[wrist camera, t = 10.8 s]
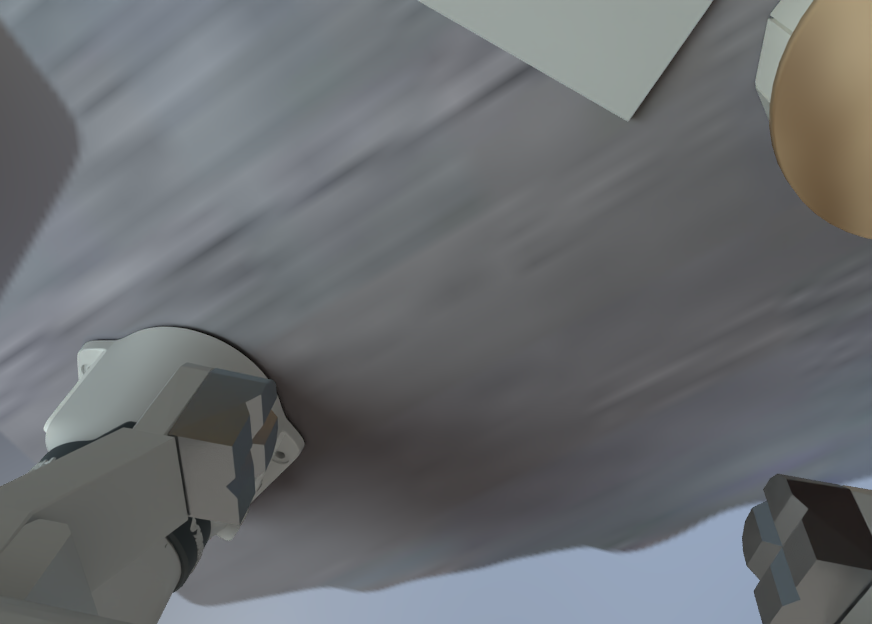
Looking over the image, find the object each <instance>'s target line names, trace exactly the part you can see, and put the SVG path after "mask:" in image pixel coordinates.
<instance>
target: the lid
mask: <svg viewBox="0 0 872 624" xmlns="http://www.w3.org/2000/svg"><path fill="white" fill-rule="evenodd" d="M769 127H770V134H771V141H772V146H773V150H774V153H775V156H776V159H777V162H778V164H779V166H780V168H781V170H782V172H783V174H784V176H785V178H786V180H787V181H788V182H789V184H790V185H791V187H792V188H793V189H794V191H795V192H796V193H797V195H798V196H799V197H800V199H801V200H802V201H803V202H804V203H805V204H806V205H807V206H808V207H809V208H810V209H811V210H812V211H813V212H814V213H815V214H817V215H818V216H820V217H821V218H823V219H824V220H825V221H827V222H828V223H830V224H832V225H834V226H836V227H838V228H840V229H842V230H844V231H846V232H849V233H852V234H855V235H858V236H861V237H864V238H869V239H872V0H813V2H812V3H811V5H810V6H809V7H808V9H807V10H806V12H805V13H804V14H803V16H802V17H801V19H800V21H799V23H798V24H797V26H796V28H795V30H794V31H793V33H792V35H791V37H790V38H789V40H788V43H787V45H786V48H785V50H784V52H783V55H782V57H781V59H780V62H779V65H778V68H777V72H776V75H775V79H774V82H773V86H772V93H771V99H770V110H769Z"/></svg>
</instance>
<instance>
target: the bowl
mask: <svg viewBox="0 0 872 624" xmlns="http://www.w3.org/2000/svg"><path fill="white" fill-rule="evenodd" d="M812 2H813V0H781V1H780V2H779V3H778V5H777V6H776V7H775V8H774V10H773V11H772V12H771V14H770V15H771V16H772V17H773V18H768V21H767V26H766V31H765V36H764V41H763V46H762V50H761V55H760V60H759V65H758V70H757V75H756V80H755V84H756V86H755V87H756V90H757V92H758V95H759V97H760V100H761V102H762V105H763V107H764V110H765V112H766V115H767V117H768V120H769V110H770V99H771V93H772V86H773V82H774V79H775V75H776V72H777V68H778V65H779V62H780V59H781V57H782V55H783V52H784V50H785V48H786V45H787V43H788V40H789V38H790V37H791V35H792V33H793V31H794V30H795V28H796V26H797V24H798V23H799V21H800V19H801V17H802V16H803V14H804V13H805V12H806V10H807V9H808V7H809V6H810V5H811V3H812Z"/></svg>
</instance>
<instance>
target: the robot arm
mask: <svg viewBox="0 0 872 624" xmlns="http://www.w3.org/2000/svg"><path fill="white" fill-rule="evenodd" d="M77 362H78V376H79V381H78V382H77V384H76V385H75V386H74V387H73V389H72V390H71V391H70V392H69V394H68V395H67V396H66V397H65V399H64V400H63V401H62V402H61V404H60V405H59V406H58V407H57V409H56V410H55V411H54V413H53V414H52V415H51V416H50V418H49V419H48V420H47V422H46V424H45V426H44V431H45V432H46V438H45V442H46V446H47V449H48V453H47V454H46V455H45V456H44V457H43V458H42V459H41V461H40V462H39V463H38V464H37V465H36V466H34V467H33V468H32V469H31V470H30V471H29V472H28V473H27V474H25V475H23V476H21V477H19V478H17V479H15V480H13V481H11V482H9V483H7V484H4V485H3V486H0V624H157V623H158V621H159V619H160V617H161V615H162V613H163V611H164V609H165V607H166V605H167V603H168V601H169V599H170V597H171V595H172V593H173V592H175V591H177V590H178V589H179V588H180V587H182V586H183V584H184V583H185V581H186V580H187V578H188V577H189V575H190V574H191V573H192V572H193V570H194V569H195V567H196V565H197V564H198V562H199V560H200V558H201V556H202V552H203V549H204V547H205V545H206V543H207V541H208V540H209V539H211V538H212V537H213V536H214V535H218V536H219V537H221V538H223V539H224V540H226V541H231V540H232V539H233V537H234V536H235V535H236V533H237V532H238V530H239V528H240V526H241V525H242V523H243V520H244V519H245V517H246V515H247V513H248V511H249V509H248V507H249V505H250V503H251V502H252V501H253V500H255V499H256V498H257V497H258V496H259V495H260V494H261V493H262V492H263V491H264V490H265V489H266V488H267V487H268V486H269V485H270V484H271V483H272V482H273V481H274V480H275V479H276V478H277V477H278V476H279V475H280V474H281V473H282V472H283V471H284V470H285V469H286V468H287V467H288V466H289V465H290V464H291V463H292V462H293V461H294V460H295V459H296V458H297V457H298V456H299V455H300V453H301V451H302V450H303V448H304V440H303V438H302V437H301V435H300V434H299V433H298V431H297V430H296V429H295V428H294V427H293V426H292V424H291V423H290V422H289V421H288V420H287V419H286V417H285V415H284V412H283V410H282V406H281V403H280V400H279V398H278V395H277V391H276V383H275V382H274V381H273V380H271V379H268V378H267V377H266V376H265V375H264V373H263V372H262V371H261V370H260V369H259V368H258V367H257V366H256V365H255V364H254V363H253V362H252V361H251V360H250V359H248V358H247V357H246V356H245V355H243V354H242V353H241V352H239V351H238V350H236V349H235V348H233V347H231V346H230V345H228V344H226V343H224V342H222V341H220V340H218V339H216V338H214V337H212V336H209V335H206V334H203V333H200V332H197V331H193V330H189V329H184V328H177V327H154V328H148V329H144V330H140V331H137V332H135V333H133V334H131V335H129V336H127V337H124V338H122V339H119V340H98V341H90V342H87V343H85V344H84V345H83V347H82V348H81V350H80V351H79V352H78V355H77ZM763 490H764V493H765V496H766V499H767V501H765V502H763V503H761V504H759V505H757V506H755V507H753V508H752V509H751V512H750V513H749V515H748V517H747V519H746V521H745V525H744V531H743V536H742V541H743V552H744V557H745V561H746V565H747V567H748V568H749V569H750V570H751V571H752V572H753V573H754V574H755V575H756V576H757V577H758V579H759V580H760V582H759V583H758V585H757V586H756V588H755V590H754V594H755V598H756V602H757V605H758V609H759V612H760V616H761V620H762V623H763V624H872V490H868V489H863V488H857V487H851V486H845V485H843V486H841V485H838V484H832V483H827V482H821V481H816V480H810V479H804V478H799V477H793V476H788V475H782V474H776V475H775V476H773V477H772V478H770V479H769V481H768V483H767V484H766V486H765V487H764V489H763Z"/></svg>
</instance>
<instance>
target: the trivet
mask: <svg viewBox="0 0 872 624" xmlns="http://www.w3.org/2000/svg"><path fill="white" fill-rule="evenodd" d="M418 1H419V2H421V3H423V4H425V5H426V6H428V7H430V8H432V9H433V10H435V11H437V12H439V13H440V14H442V15H444V16H445V17H447V18H449V19H451V20H452V21H454V22H456V23H458V24H459V25H461V26H463V27H465V28H466V29H468V30H470V31H472V32H473V33H475V34H477V35H478V36H480V37H482V38H484V39H485V40H487V41H489V42H491V43H492V44H494V45H496V46H498V47H499V48H501V49H503V50H505V51H506V52H508V53H510V54H511V55H513V56H515V57H517V58H518V59H520V60H522V61H524V62H525V63H527V64H529V65H531V66H532V67H534V68H536V69H538V70H539V71H541V72H543V73H544V74H546V75H548V76H550V77H551V78H553V79H555V80H557V81H558V82H560V83H562V84H564V85H565V86H567V87H569V88H571V89H572V90H574V91H576V92H578V93H579V94H581V95H583V96H584V97H586V98H588V99H590V100H591V101H593V102H595V103H597V104H598V105H600V106H602V107H604V108H605V109H607V110H609V111H611V112H612V113H614V114H616V115H617V116H619V117H621V118H623V119H624V120H626V121H629V120H630V118H631V117H632V115H633V114H634V113H635V111H636V110H637V108H638V107H639V105H640V104H641V103H642V101H643V100H644V98H645V97H646V95H647V94H648V93H649V91H650V90H651V88H652V87H653V85H654V84H655V83H656V81H657V80H658V78H659V77H660V76H661V74H662V73H663V71H664V70H665V68H666V67H667V66H668V64H669V63H670V61H671V60H672V58H673V57H674V56H675V54H676V53H677V51H678V50H679V48H680V47H681V46H682V44H683V43H684V41H685V40H686V38H687V37H688V36H689V34H690V33H691V31H692V30H693V28H694V27H695V26H696V24H697V23H698V21H699V20H700V19H701V17H702V16H703V14H704V13H705V11H706V10H707V9H708V7H709V6H710V4H711V3H712V1H713V0H418Z"/></svg>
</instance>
